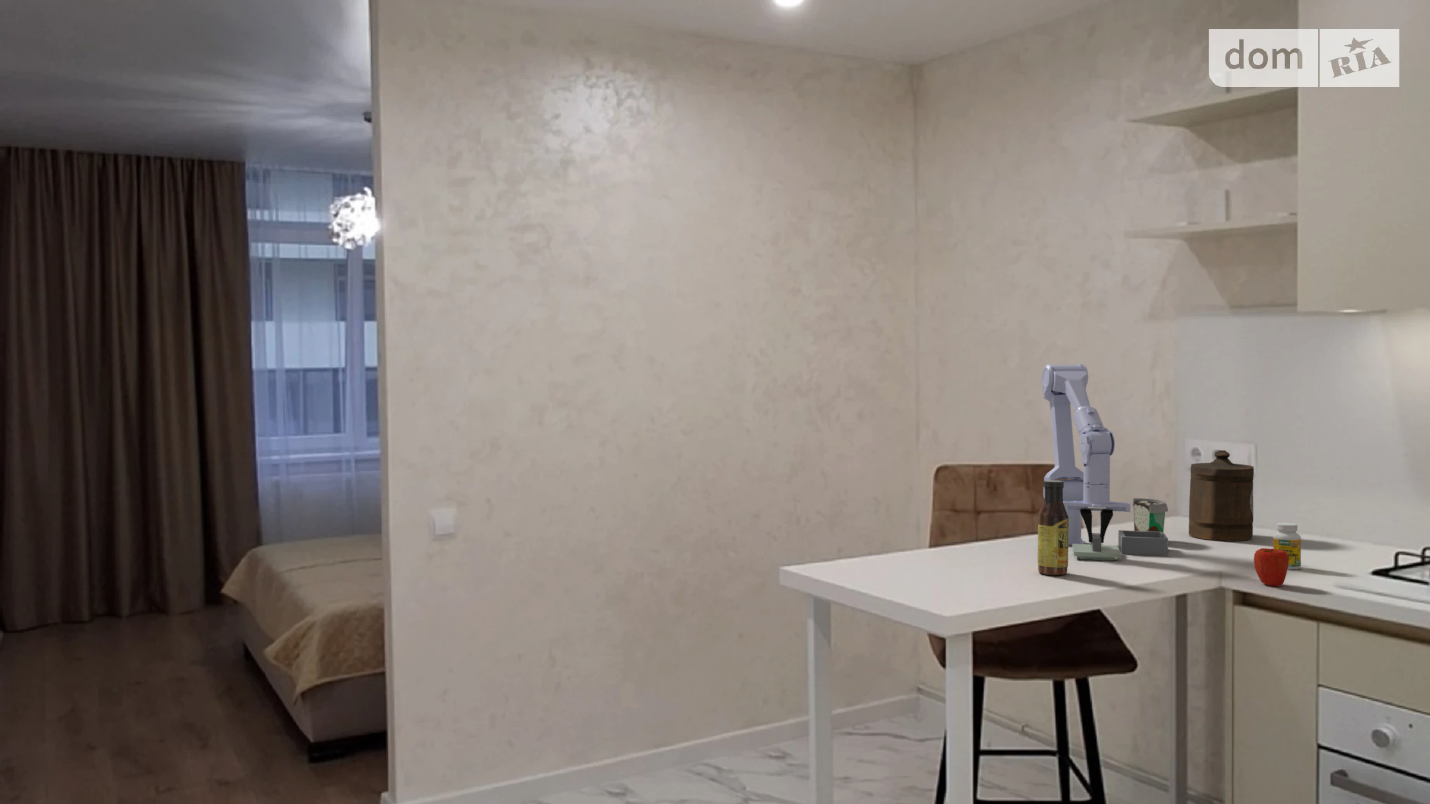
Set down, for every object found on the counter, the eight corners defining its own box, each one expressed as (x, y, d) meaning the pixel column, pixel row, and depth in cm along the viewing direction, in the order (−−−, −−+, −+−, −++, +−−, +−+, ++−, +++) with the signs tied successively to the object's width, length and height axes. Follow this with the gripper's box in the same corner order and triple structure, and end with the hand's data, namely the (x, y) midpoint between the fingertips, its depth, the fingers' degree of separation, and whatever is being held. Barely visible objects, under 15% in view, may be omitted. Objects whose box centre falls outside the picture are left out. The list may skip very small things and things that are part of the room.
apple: (1246, 583, 225) (1247, 547, 224) (1268, 580, 227) (1268, 544, 227) (1273, 589, 219) (1274, 552, 219) (1295, 586, 222) (1296, 549, 221)
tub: (1121, 554, 258) (1121, 537, 258) (1118, 546, 268) (1118, 530, 267) (1167, 555, 255) (1168, 538, 255) (1162, 548, 265) (1162, 531, 265)
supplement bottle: (1298, 566, 242) (1298, 522, 242) (1303, 570, 237) (1303, 526, 237) (1270, 564, 244) (1271, 521, 243) (1275, 569, 239) (1275, 525, 238)
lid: (1074, 559, 251) (1074, 538, 251) (1072, 551, 261) (1072, 531, 261) (1120, 561, 249) (1121, 540, 248) (1117, 553, 258) (1117, 532, 258)
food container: (1175, 545, 269) (1176, 504, 268) (1150, 545, 269) (1150, 504, 268) (1156, 537, 281) (1157, 497, 280) (1132, 537, 281) (1132, 498, 281)
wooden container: (1266, 539, 276) (1267, 451, 275) (1217, 543, 272) (1218, 453, 271) (1223, 530, 290) (1224, 447, 289) (1175, 533, 286) (1176, 448, 285)
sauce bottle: (1063, 577, 232) (1064, 483, 231) (1033, 574, 235) (1034, 481, 234) (1071, 572, 237) (1072, 480, 237) (1042, 569, 241) (1042, 478, 240)
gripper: (1063, 484, 252) (1063, 543, 253) (1131, 486, 248) (1131, 546, 249) (1062, 481, 259) (1062, 538, 260) (1128, 482, 255) (1128, 541, 256)
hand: (1096, 542), depth 255 cm, fingers closed on lid
